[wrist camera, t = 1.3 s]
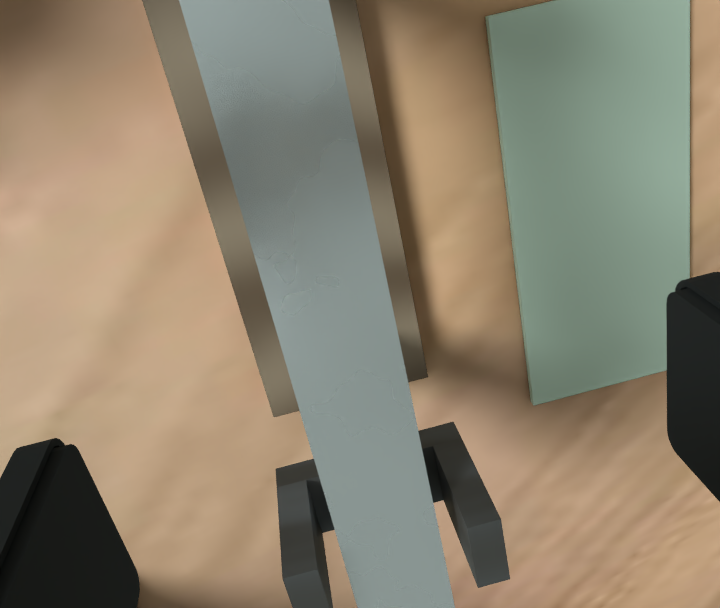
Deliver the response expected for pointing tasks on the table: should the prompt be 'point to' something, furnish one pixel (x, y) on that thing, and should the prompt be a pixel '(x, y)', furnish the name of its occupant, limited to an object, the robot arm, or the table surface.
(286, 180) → the rail
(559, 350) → the mat
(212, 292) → the table surface
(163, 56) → the hook stand
